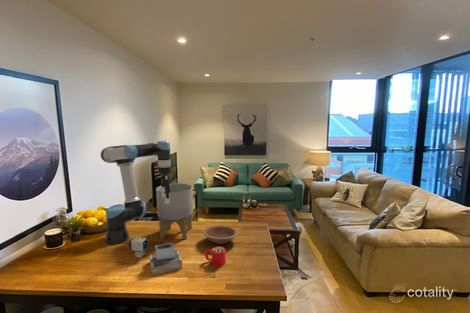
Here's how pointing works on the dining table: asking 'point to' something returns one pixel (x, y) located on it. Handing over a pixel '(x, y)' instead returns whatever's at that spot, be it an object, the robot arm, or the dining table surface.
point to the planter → (175, 208)
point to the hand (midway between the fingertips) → (165, 200)
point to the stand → (165, 264)
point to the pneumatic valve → (139, 245)
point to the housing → (164, 252)
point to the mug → (216, 256)
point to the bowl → (220, 233)
